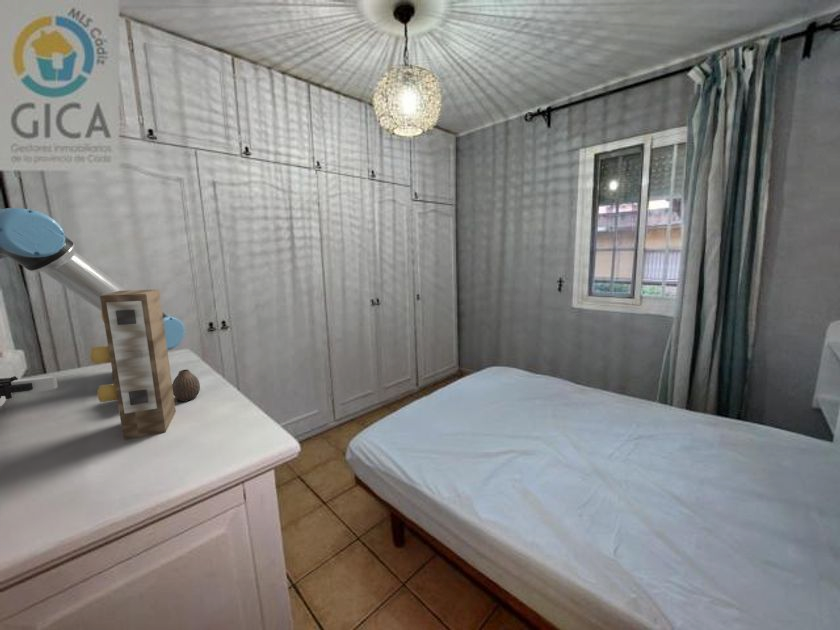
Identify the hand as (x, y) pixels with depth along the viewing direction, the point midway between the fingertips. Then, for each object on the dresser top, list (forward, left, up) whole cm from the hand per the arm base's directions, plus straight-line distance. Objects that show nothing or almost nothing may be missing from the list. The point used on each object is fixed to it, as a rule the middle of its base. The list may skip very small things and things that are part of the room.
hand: (55, 382), depth 75 cm
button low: (-5, +8, -6) cm, 11 cm away
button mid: (-5, +8, +3) cm, 10 cm away
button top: (-7, +10, +13) cm, 18 cm away
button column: (-8, +14, -14) cm, 21 cm away
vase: (-24, +11, -15) cm, 30 cm away
